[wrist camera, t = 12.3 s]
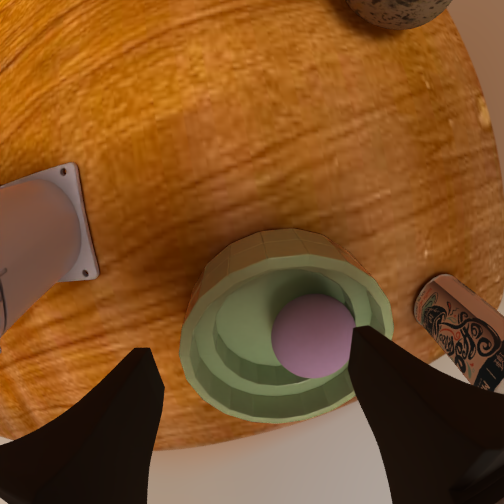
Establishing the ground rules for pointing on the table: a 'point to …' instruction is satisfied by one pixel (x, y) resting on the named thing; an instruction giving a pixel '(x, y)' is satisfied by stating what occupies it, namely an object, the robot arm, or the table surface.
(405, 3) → the decorative egg
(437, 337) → the beer can
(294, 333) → the ball
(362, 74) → the table surface
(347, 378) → the bowl
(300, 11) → the table surface
